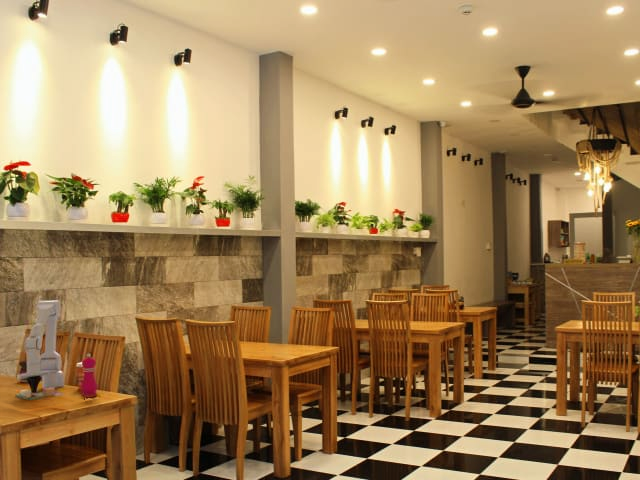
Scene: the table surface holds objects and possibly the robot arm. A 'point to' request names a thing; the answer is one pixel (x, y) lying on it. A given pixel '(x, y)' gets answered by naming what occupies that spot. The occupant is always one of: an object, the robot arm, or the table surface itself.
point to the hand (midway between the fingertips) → (33, 392)
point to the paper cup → (80, 374)
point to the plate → (46, 396)
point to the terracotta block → (49, 391)
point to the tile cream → (25, 393)
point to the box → (30, 397)
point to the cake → (23, 369)
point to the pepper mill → (89, 377)
